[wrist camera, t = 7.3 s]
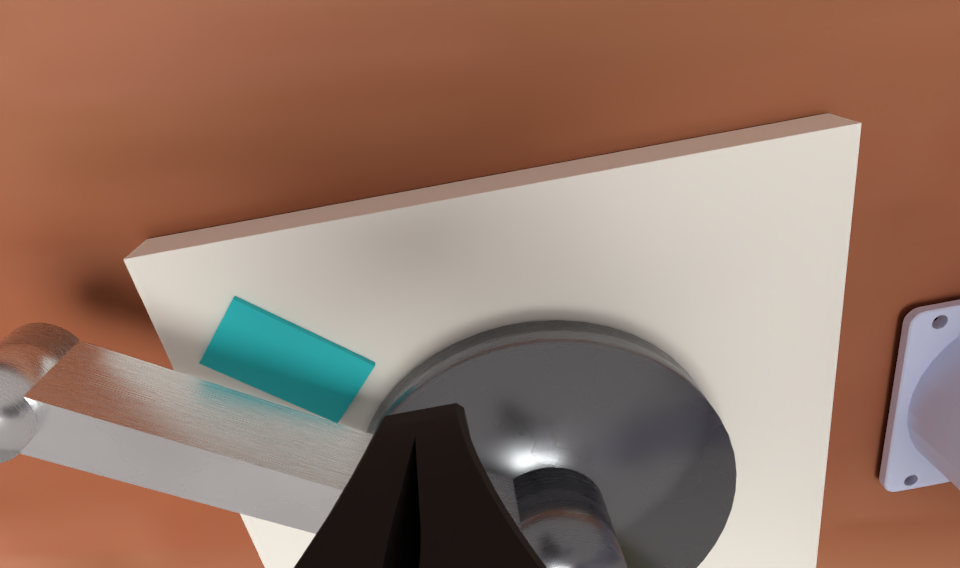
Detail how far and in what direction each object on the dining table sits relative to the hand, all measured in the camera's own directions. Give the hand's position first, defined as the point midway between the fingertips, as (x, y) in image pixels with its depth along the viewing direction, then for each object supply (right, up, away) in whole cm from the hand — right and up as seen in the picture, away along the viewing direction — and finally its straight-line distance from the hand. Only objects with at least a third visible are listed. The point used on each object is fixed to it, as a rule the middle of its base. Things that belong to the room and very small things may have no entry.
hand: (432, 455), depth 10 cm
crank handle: (-2, -2, +9) cm, 9 cm away
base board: (+3, -3, +12) cm, 12 cm away
